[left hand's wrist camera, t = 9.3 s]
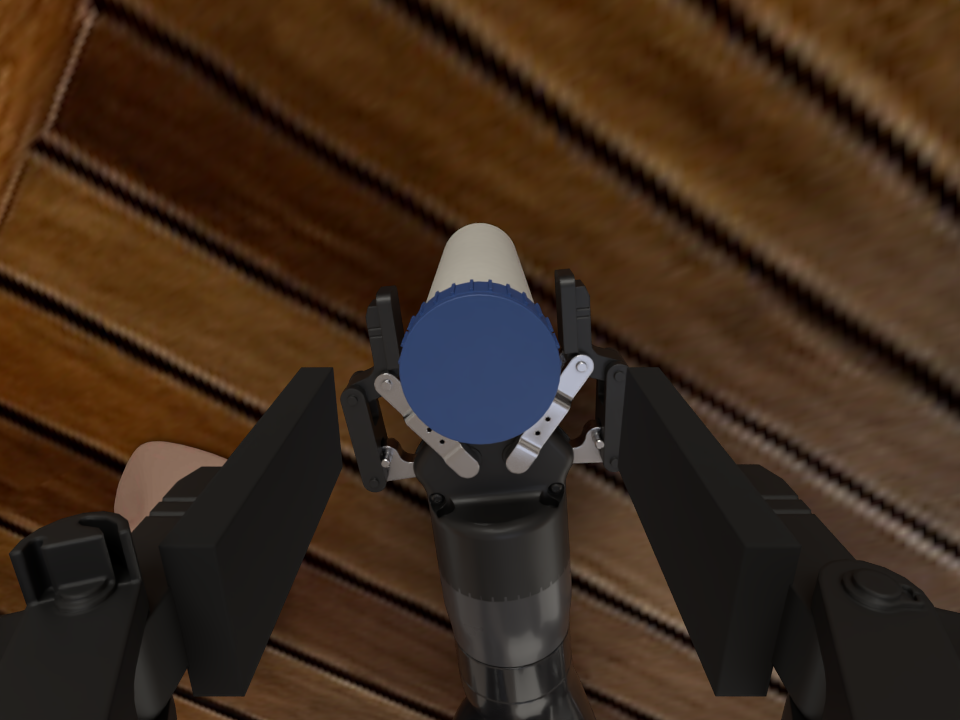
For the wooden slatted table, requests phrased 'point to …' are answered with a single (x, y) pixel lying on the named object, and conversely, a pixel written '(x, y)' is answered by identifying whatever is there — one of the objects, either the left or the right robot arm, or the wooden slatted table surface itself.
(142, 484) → the anatomical model
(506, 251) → the white cylindrical bottle
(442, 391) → the lid
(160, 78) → the wooden slatted table surface
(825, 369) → the wooden slatted table surface
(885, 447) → the wooden slatted table surface
